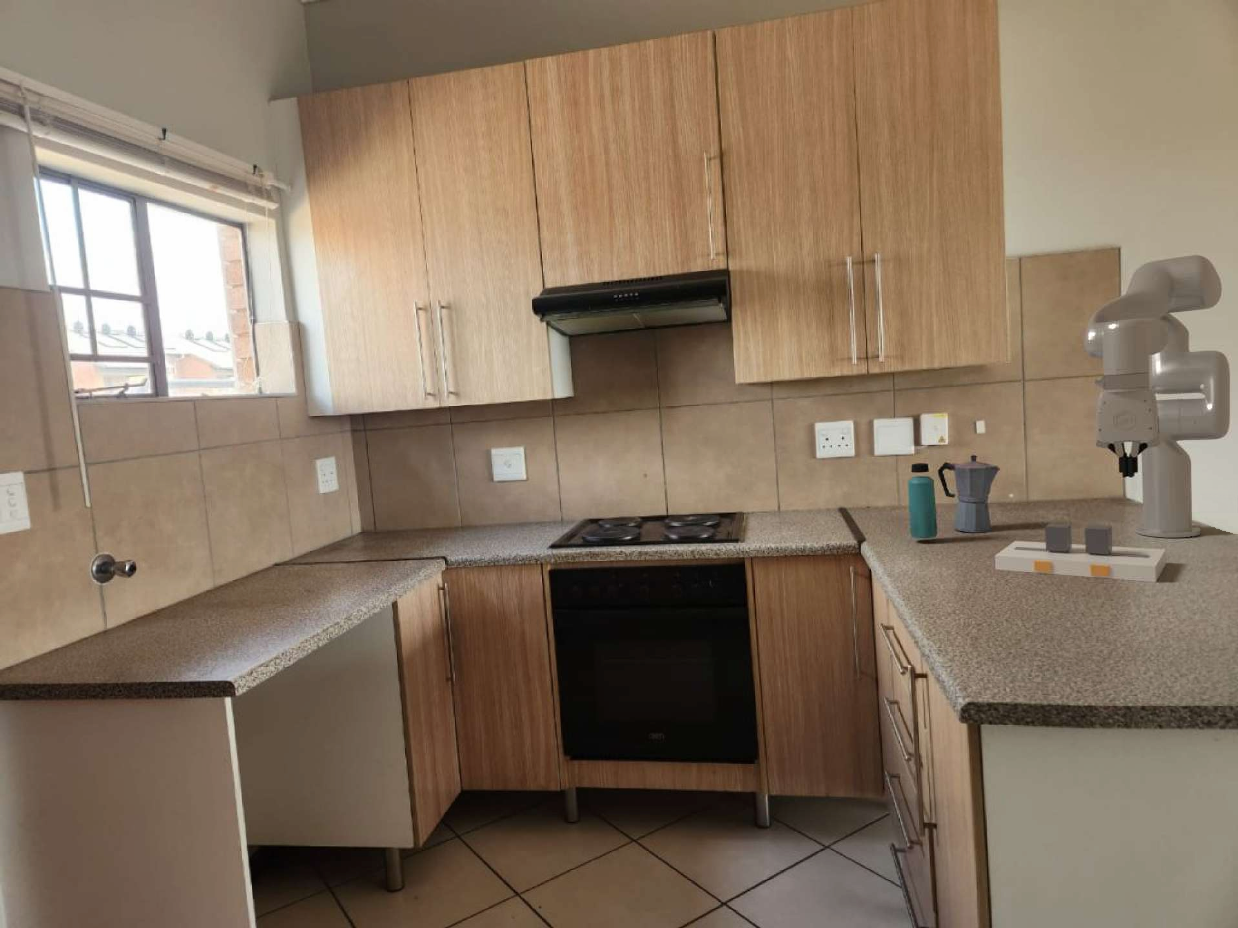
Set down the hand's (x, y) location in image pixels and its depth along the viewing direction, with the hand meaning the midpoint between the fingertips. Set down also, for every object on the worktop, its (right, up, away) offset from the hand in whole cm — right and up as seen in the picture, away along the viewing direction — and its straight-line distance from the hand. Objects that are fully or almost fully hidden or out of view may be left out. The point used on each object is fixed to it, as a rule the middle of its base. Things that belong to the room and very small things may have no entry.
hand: (1128, 476), depth 153 cm
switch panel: (-5, -19, +7) cm, 21 cm away
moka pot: (-7, -15, +52) cm, 55 cm away
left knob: (-8, -15, +9) cm, 20 cm away
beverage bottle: (-24, -17, +43) cm, 52 cm away
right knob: (-3, -15, +5) cm, 16 cm away
